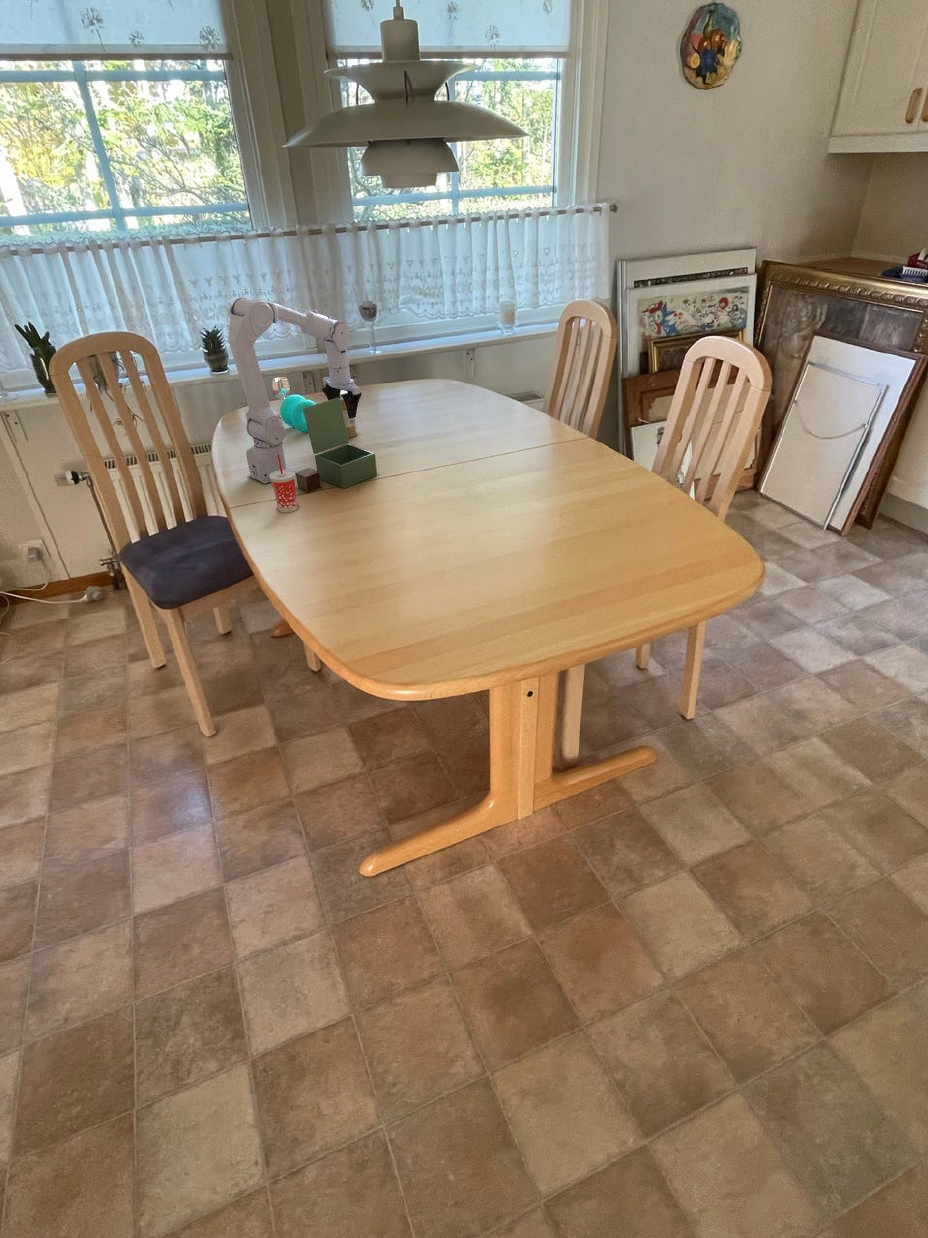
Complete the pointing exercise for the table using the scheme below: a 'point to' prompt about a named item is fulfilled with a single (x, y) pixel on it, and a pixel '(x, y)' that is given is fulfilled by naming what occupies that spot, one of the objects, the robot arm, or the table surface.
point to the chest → (346, 465)
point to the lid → (325, 425)
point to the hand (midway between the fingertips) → (344, 414)
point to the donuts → (295, 411)
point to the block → (308, 480)
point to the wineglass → (281, 388)
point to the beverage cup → (284, 489)
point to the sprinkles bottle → (347, 418)
